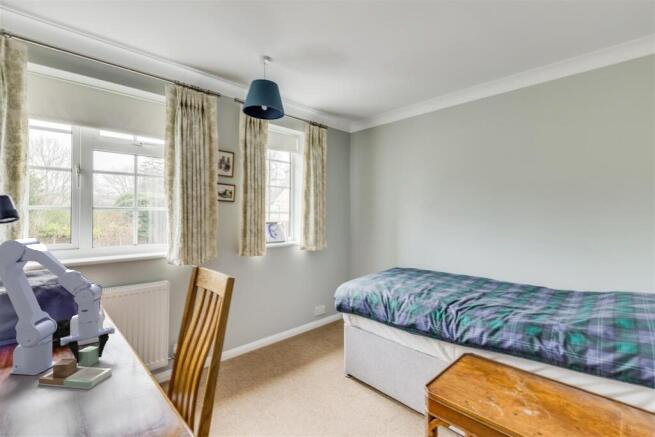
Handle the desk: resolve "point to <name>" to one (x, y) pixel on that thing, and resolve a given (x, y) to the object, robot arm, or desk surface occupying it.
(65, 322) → the webcam
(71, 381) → the slot board
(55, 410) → the desk surface
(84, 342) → the photo printer
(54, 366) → the walnut block
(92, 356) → the sage block
